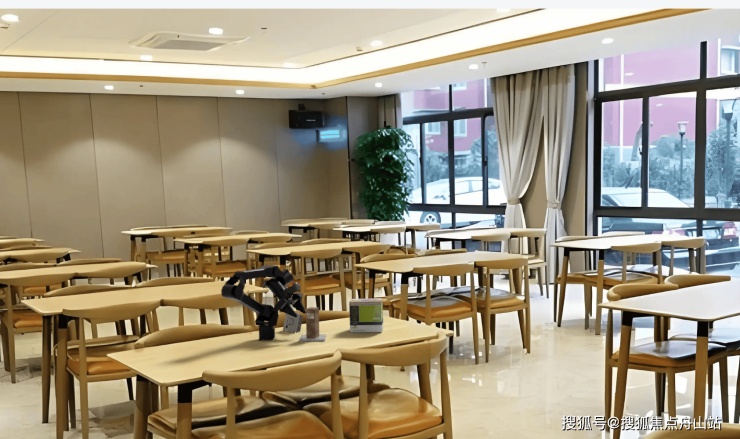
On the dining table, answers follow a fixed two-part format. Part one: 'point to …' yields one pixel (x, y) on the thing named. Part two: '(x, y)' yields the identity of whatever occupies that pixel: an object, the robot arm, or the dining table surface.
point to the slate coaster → (320, 338)
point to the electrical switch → (293, 323)
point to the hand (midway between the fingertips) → (301, 314)
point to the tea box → (366, 315)
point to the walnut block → (312, 322)
